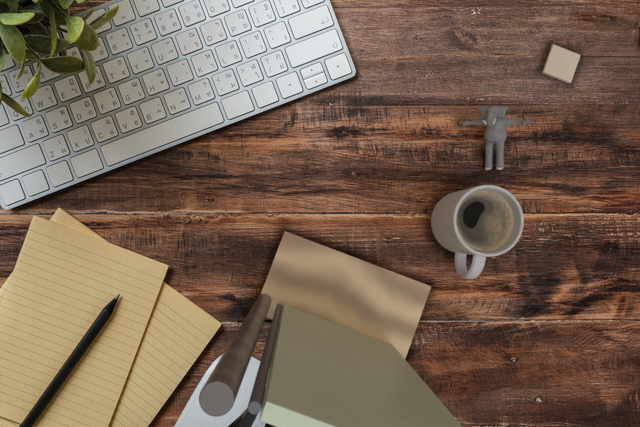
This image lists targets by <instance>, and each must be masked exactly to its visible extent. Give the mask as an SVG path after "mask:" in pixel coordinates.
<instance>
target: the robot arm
mask: <svg viewBox="0 0 640 427" xmlns="http://www.w3.org/2000/svg"><path fill="white" fill-rule="evenodd" d="M265 389H266V388H265ZM264 394H265V393H264ZM263 399H264V398H263ZM262 404H263V403H262ZM258 414H259V413H258ZM258 414H255V415H254V414H251V413H250V412H249V411H248V406H247V407H246V408H245V409H244V410H243V412H242V413H241V414H240V415H239V416H238V417H237V418H236V419H234V420H233V421H232V422H231V423H230V424H229V425H228V426H227V427H252V426H253V424H254V423H255V420H256V419H257V416H258Z"/></svg>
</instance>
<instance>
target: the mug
mask: <svg viewBox="0 0 640 427" xmlns="http://www.w3.org/2000/svg"><path fill="white" fill-rule="evenodd" d="M524 222H525V220H524V212H523V209H522V206H521V204H520V203H519V201H518V199H517V198H516V197H515V196H514V195H513V194H512V193H511V192H510V191H508V190H507V189H505V188H503V187H501V186H498V185H494V184H481V185H478V186H473V187H469V188H465V189H461V190H458V191H453V192H451V193H447V194H446V195H445V196H443V197H442V198H441V199H440V200H438V202H436V204H435V205H434V207H433V210H432V213H431V217H430V225H431V226H430V227H431V231H432V234H433V236H434V238H435V239H436V241H437V243H439V245H440V246H441V247H442V248H444V249H445V250H448V251H449V252H451V253H454V269H455V271H456V273H457V275H458V276H459V278H461V279H466V280H471V281H473V280H475V279H477V278H478V277H479V276H480V275H481V273H482V272H483V270H484V268H485V264H486V260H487V258H493V257H497V256H498V257H499V256H501V255H504V254H506V253H507V252H509V251H510V250H511V249H512V248H514V247H515V245H517V243H518V242H519V240H520V238H521V236H522V233H523V230H524V224H525V223H524ZM467 255H470V256H472V260H471V264H470V266H469V269H468V268H467Z"/></svg>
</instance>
